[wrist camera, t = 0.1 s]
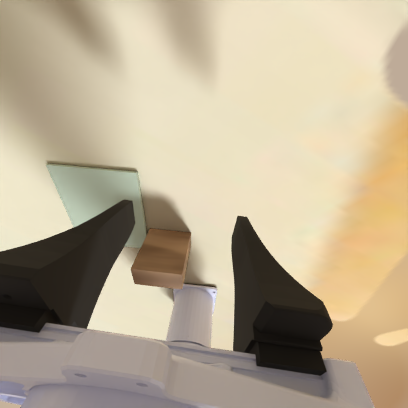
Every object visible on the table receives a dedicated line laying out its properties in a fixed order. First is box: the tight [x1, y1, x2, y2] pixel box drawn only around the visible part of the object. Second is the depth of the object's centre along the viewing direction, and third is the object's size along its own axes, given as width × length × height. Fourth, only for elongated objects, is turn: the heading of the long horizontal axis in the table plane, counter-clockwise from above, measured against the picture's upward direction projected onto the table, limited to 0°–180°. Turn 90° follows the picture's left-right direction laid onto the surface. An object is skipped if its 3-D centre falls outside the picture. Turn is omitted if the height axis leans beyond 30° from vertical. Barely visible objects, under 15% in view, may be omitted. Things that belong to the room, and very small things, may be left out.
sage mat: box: [46, 163, 147, 248], centre depth 27 cm, size 13×11×1 cm
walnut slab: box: [131, 228, 191, 289], centre depth 26 cm, size 3×6×7 cm, turn 87°
